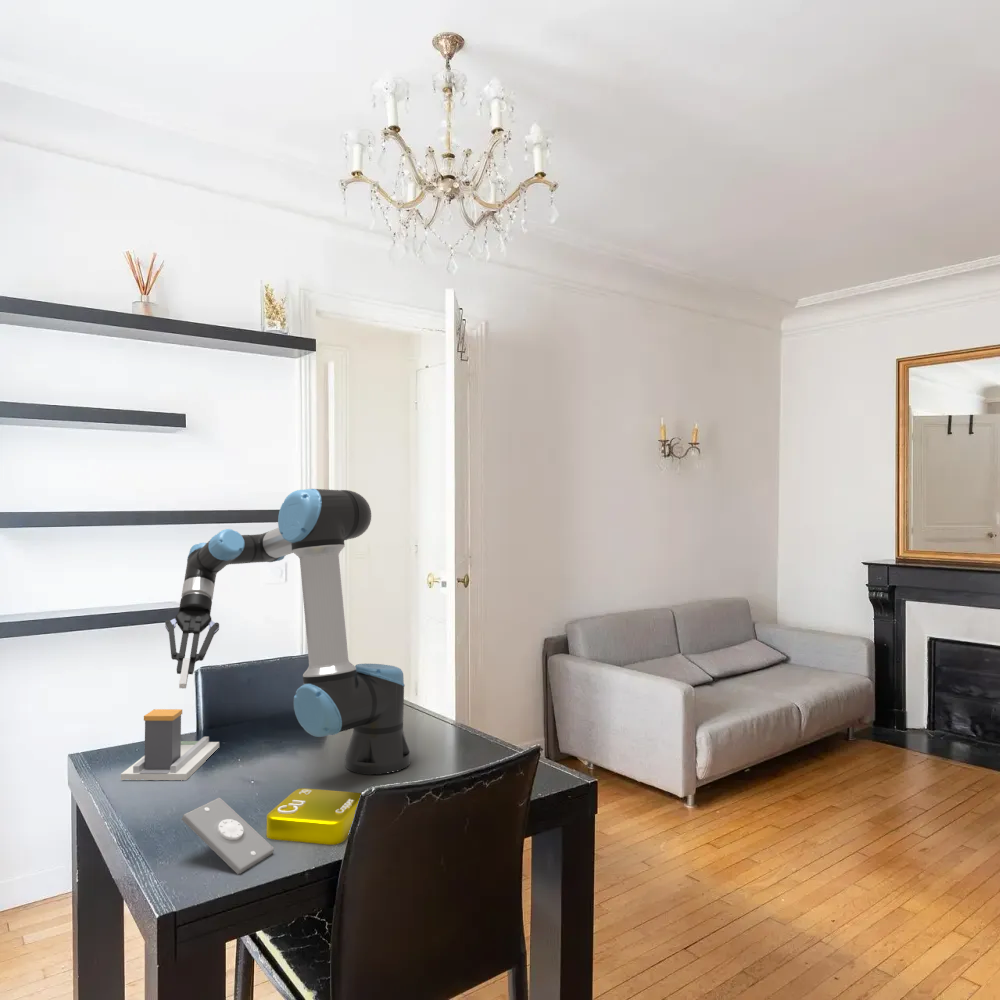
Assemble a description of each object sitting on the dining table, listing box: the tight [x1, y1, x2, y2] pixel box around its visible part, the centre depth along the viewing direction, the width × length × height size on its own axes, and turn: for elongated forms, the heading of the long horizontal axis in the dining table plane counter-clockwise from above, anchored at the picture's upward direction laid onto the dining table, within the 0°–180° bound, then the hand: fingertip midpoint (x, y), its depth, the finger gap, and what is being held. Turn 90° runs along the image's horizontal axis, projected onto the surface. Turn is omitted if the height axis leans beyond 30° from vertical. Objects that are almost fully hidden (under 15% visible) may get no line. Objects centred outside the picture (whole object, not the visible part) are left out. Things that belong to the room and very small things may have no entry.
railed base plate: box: [120, 736, 220, 782], centre depth 178 cm, size 22×14×3 cm, turn 2°
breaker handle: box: [143, 708, 183, 769], centre depth 172 cm, size 5×6×12 cm
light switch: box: [181, 797, 275, 875], centre depth 132 cm, size 8×6×14 cm
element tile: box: [265, 787, 362, 846], centre depth 145 cm, size 15×15×5 cm
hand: (182, 685), depth 181 cm, fingers closed
